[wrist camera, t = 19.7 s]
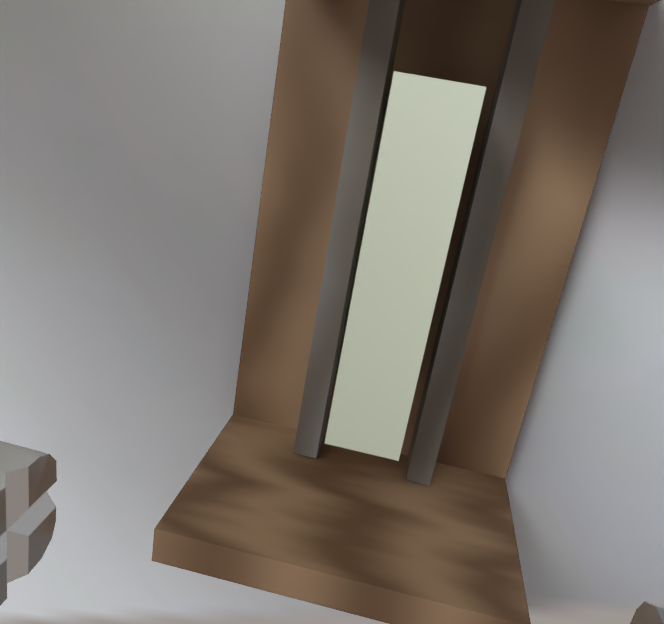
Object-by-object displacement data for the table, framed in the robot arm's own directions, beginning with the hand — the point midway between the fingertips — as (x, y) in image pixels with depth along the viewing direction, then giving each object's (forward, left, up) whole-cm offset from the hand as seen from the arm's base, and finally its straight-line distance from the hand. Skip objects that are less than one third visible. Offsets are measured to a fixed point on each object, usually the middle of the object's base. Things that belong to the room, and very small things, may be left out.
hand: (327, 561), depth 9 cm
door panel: (0, 0, -23) cm, 23 cm away
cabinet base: (0, 0, -24) cm, 24 cm away
